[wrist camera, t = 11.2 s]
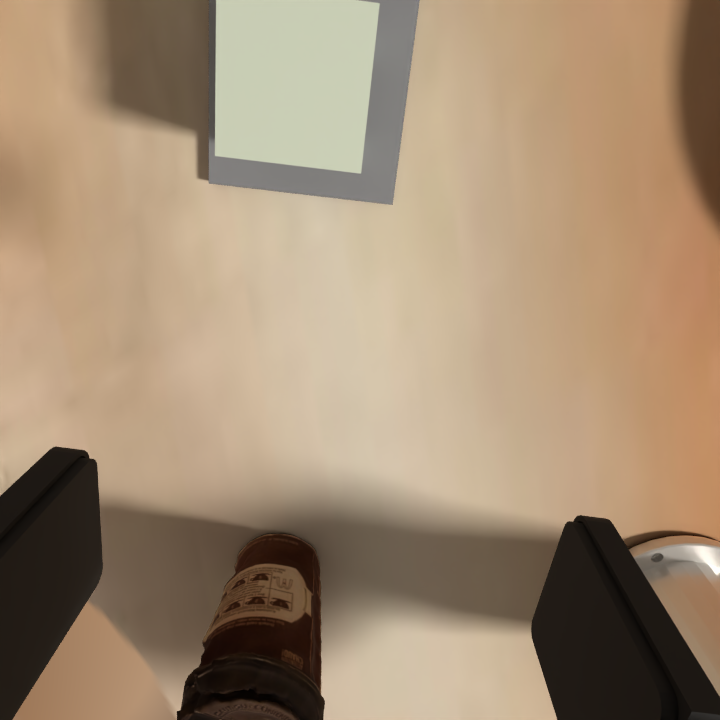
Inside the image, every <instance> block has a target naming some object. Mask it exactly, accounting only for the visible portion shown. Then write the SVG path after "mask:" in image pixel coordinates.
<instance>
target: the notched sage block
mask: <svg viewBox="0 0 720 720" xmlns="http://www.w3.org/2000/svg"><path fill="white" fill-rule="evenodd" d="M379 6H380V3H374V2H367V1H359V0H216V81H215V156H220V157H228V158H236V159H244V160H253V161H261V162H269V163H277V164H285V165H294V166H302V167H310V168H318V169H327V170H335V171H343V172H351V173H359V174H361V169H362V160H363V151H364V142H365V133H366V124H367V115H368V106H369V97H370V88H371V78H372V69H373V60H374V51H375V42H376V33H377V24H378V15H379Z"/></svg>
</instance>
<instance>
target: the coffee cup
mask: <svg viewBox="0 0 720 720" xmlns="http://www.w3.org/2000/svg"><path fill="white" fill-rule="evenodd" d="M235 571H236V574H235V575H234V576H233V577H232V578H231V579H230V580H229V581H228V582H227V584H226V585H225V588H224V592H223V596H222V599H221V603H220V605H219V607H218V609H217V611H216V613H215V616H214V619H213V621H212V623H211V625H210V628H209V630H208V631H207V634H206V636H205V637H204V639H203V646H204V649H205V651H204V653H203V655H202V656H201V664H200V666H199V667H198V668H196V669H195V670H193V672H192V673H191V674H190V675H189V676H188V678H187V680H186V681H185V686H184V692H183V700H182V706H181V710H180V711H177V720H323V713H324V705H325V701H324V698H323V697H322V696H321V599H320V596H321V582H320V567H319V560H318V556H317V554H316V552H315V549H314V548H313V547H312V546H311V545H309V544H308V543H306V542H305V541H303V540H302V539H300V538H298V537H295V536H292V535H287V534H267V535H263V536H260V537H258V538H256V539H254V540H252V541H251V542H249V543H248V544H247V545H246V546H245V547H244V548H243V549H242V550H241V551H240V553H239V554H238V560H237V563H236V565H235Z"/></svg>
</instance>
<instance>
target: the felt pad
mask: <svg viewBox="0 0 720 720" xmlns="http://www.w3.org/2000/svg"><path fill="white" fill-rule="evenodd" d="M359 1H367V2H374V3H380V6H379V15H378V24H377V33H376V42H375V51H374V60H373V69H372V78H371V88H370V97H369V106H368V115H367V124H366V133H365V142H364V151H363V160H362V169H361V174H359V173H351V172H343V171H335V170H327V169H318V168H310V167H302V166H294V165H285V164H277V163H269V162H261V161H253V160H244V159H236V158H228V157H220V156H215V81H216V0H209V183H210V184H218V185H227V186H235V187H244V188H252V189H261V190H270V191H278V192H287V193H295V194H304V195H312V196H321V197H330V198H338V199H347V200H355V201H364V202H373V203H381V204H390V205H393V197H394V189H395V182H396V174H397V167H398V159H399V152H400V144H401V136H402V129H403V121H404V114H405V106H406V99H407V91H408V83H409V76H410V68H411V61H412V53H413V46H414V38H415V30H416V23H417V15H418V8H419V0H359Z"/></svg>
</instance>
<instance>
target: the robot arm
mask: <svg viewBox="0 0 720 720" xmlns="http://www.w3.org/2000/svg"><path fill="white" fill-rule="evenodd" d="M102 568H103V562H102V544H101V526H100V508H99V490H98V471H97V463H96V461H95V460H94V459H89V455H88V453H87V452H86V451H85V450H78V449H70V448H62V447H53V448H52V449H50V450H49V451H48V452H47V453H46V454H45V455H44V456H43V457H42V458H41V459H39V460H38V461H37V462H36V463H35V464H34V465H33V466H32V467H31V468H30V469H29V470H28V471H27V472H26V473H24V474H23V475H22V476H21V477H20V478H19V479H18V480H17V481H16V482H15V483H14V484H13V485H12V486H11V487H10V488H8V489H7V490H6V491H5V492H4V493H3V494H2V495H1V496H0V720H12V719H13V718H14V716H15V714H16V713H17V711H18V709H19V708H20V706H21V705H22V703H23V701H24V700H25V699H26V697H27V695H28V694H29V692H30V690H31V689H32V687H33V686H34V684H35V683H36V681H37V680H38V678H39V676H40V675H41V673H42V672H43V670H44V668H45V667H46V665H47V664H48V662H49V660H50V659H51V657H52V656H53V654H54V653H55V651H56V650H57V648H58V646H59V645H60V643H61V642H62V640H63V639H64V637H65V635H66V634H67V632H68V631H69V629H70V627H71V626H72V624H73V623H74V621H75V619H76V618H77V616H78V615H79V613H80V612H81V610H82V608H83V607H84V605H85V604H86V602H87V601H88V599H89V597H90V596H91V594H92V593H93V591H94V590H95V588H96V586H97V584H98V583H99V580H100V577H101V574H102ZM531 632H532V639H533V643H534V646H535V649H536V653H537V656H538V659H539V662H540V665H541V668H542V672H543V675H544V678H545V681H546V684H547V688H548V691H549V694H550V697H551V700H552V704H553V707H554V710H555V713H556V716H557V720H720V542H718V541H716V540H712V539H708V538H705V537H698V536H687V535H686V536H669V537H664V538H659V539H654V540H651V541H648V542H645V543H642V544H639V545H636V546H635V547H633V548H631V549H628V548H627V546H626V544H625V543H624V541H623V540H622V538H621V536H620V535H619V533H618V532H617V530H616V528H615V527H614V525H613V524H612V522H611V521H610V520H608V519H604V518H597V517H589V516H581V515H580V516H577V517H576V518H575V519H574V521H573V522H570V521H569V522H567V523H566V524H565V526H564V529H563V532H562V535H561V538H560V541H559V544H558V547H557V549H556V552H555V555H554V558H553V561H552V564H551V567H550V570H549V573H548V576H547V579H546V582H545V585H544V588H543V590H542V593H541V596H540V599H539V602H538V605H537V608H536V611H535V614H534V617H533V620H532V627H531Z"/></svg>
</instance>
